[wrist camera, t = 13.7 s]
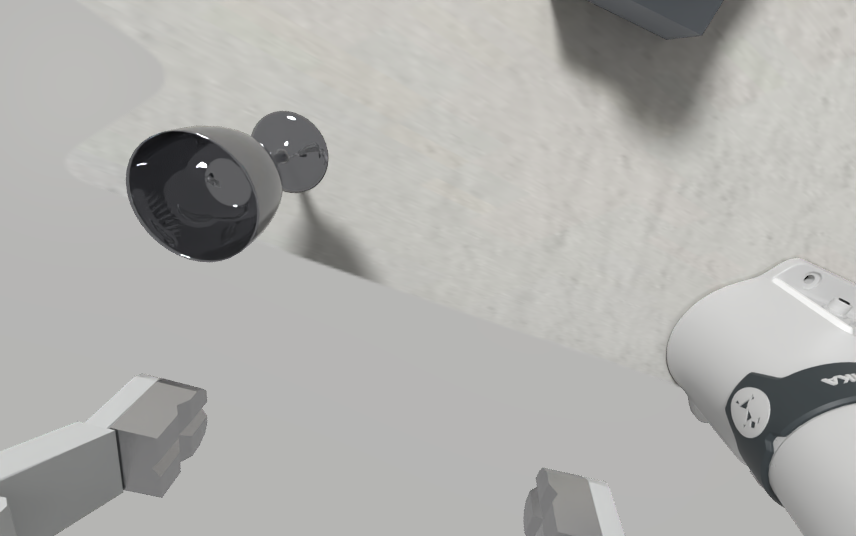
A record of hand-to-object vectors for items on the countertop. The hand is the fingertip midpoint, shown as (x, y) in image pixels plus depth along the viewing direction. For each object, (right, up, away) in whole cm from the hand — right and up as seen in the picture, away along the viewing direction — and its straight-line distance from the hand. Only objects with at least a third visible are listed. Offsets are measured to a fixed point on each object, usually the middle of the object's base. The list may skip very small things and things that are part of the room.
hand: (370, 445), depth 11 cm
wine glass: (-11, +15, +29) cm, 34 cm away
